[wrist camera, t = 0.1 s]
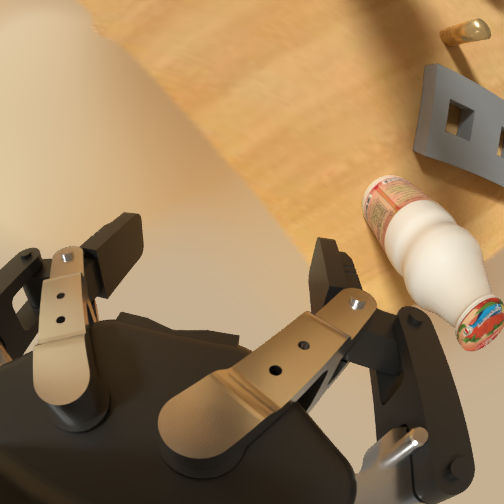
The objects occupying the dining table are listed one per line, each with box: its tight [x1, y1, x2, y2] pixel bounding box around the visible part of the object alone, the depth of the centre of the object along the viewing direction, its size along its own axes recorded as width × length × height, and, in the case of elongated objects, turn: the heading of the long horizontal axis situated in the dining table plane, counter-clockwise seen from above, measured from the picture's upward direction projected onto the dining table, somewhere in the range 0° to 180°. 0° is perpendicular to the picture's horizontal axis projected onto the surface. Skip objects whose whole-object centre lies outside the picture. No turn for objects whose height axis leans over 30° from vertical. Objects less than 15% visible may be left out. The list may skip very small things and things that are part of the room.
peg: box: [440, 19, 491, 46], centre depth 20 cm, size 3×3×10 cm
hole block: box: [413, 63, 504, 187], centre depth 29 cm, size 22×14×4 cm, turn 84°
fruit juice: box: [362, 175, 504, 351], centre depth 27 cm, size 9×9×28 cm
